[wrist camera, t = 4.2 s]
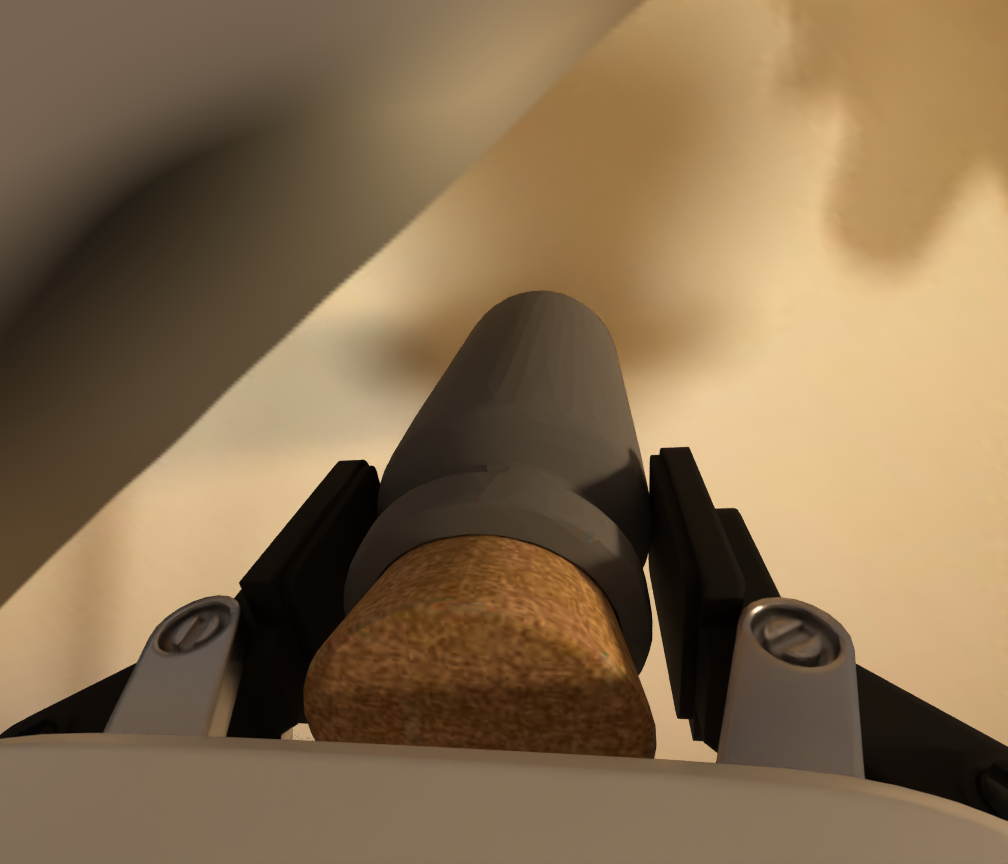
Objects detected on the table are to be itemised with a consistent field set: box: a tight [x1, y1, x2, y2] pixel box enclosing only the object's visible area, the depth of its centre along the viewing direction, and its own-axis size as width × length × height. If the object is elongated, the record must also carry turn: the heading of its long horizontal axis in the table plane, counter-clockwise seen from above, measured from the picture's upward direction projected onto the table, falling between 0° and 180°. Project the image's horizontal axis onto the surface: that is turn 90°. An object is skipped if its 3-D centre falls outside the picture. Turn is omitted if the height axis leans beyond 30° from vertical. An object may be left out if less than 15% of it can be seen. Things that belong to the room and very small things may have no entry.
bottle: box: [303, 291, 656, 759], centre depth 13 cm, size 6×6×15 cm
